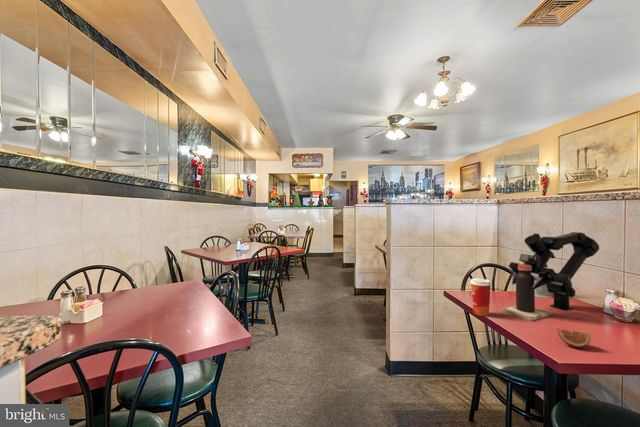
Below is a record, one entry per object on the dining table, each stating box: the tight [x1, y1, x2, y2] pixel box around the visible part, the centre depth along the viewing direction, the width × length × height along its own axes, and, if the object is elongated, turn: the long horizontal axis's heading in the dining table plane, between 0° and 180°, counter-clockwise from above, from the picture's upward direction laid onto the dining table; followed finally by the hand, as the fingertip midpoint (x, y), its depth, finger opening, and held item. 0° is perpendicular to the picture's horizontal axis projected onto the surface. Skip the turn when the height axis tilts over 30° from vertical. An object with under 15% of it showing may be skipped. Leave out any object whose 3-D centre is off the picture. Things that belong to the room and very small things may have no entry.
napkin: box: [501, 304, 551, 322], centre depth 128 cm, size 14×12×2 cm
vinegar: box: [515, 263, 536, 312], centre depth 128 cm, size 7×7×20 cm
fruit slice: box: [556, 328, 591, 349], centre depth 98 cm, size 8×7×5 cm
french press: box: [533, 267, 553, 299], centre depth 155 cm, size 10×12×25 cm
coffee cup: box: [469, 277, 492, 317], centre depth 129 cm, size 8×8×15 cm
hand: (522, 286), depth 127 cm, fingers open, 9 cm apart
